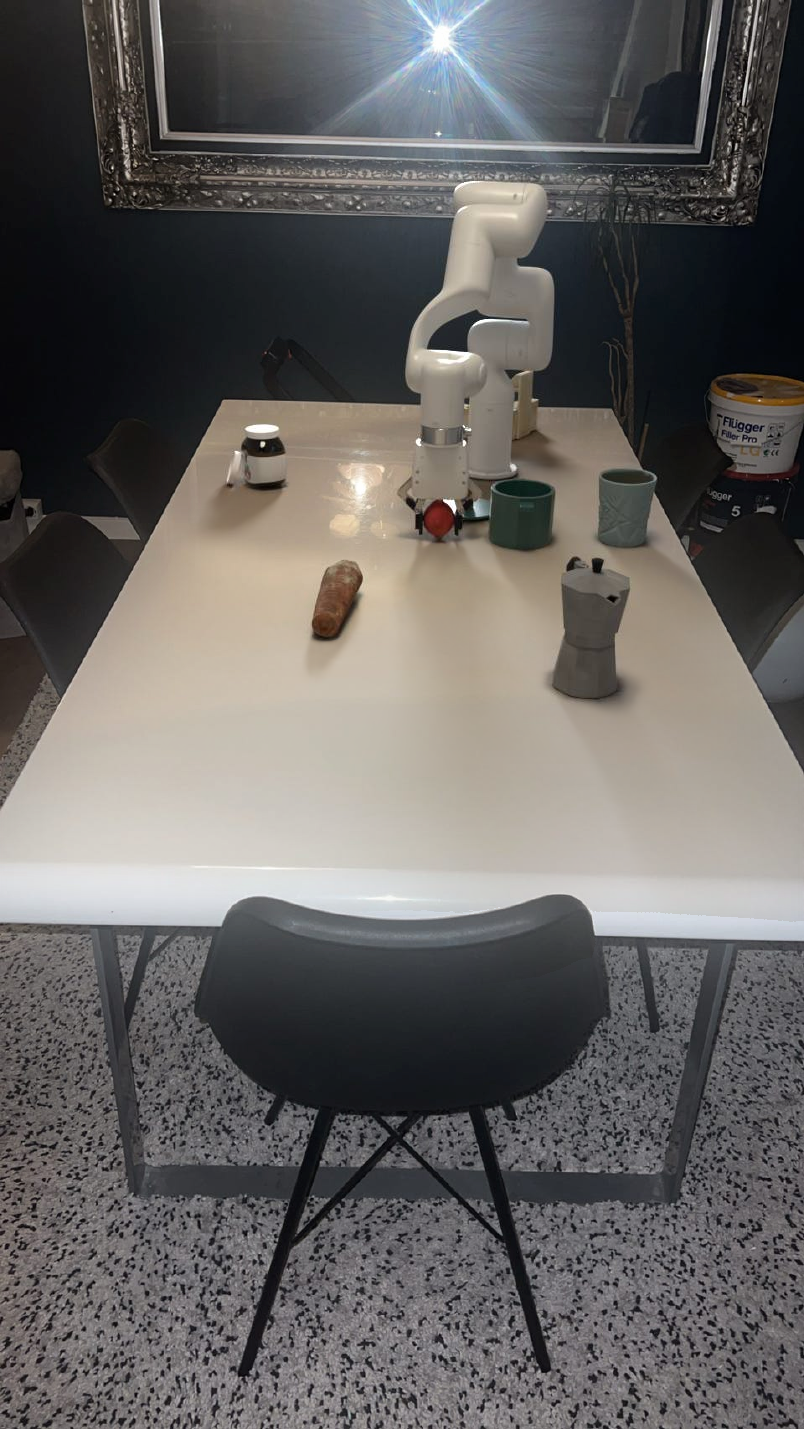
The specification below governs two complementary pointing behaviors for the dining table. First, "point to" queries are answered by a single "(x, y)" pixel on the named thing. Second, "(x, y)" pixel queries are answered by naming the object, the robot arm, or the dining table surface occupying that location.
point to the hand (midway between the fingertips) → (438, 532)
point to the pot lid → (473, 508)
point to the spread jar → (260, 458)
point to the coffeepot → (589, 628)
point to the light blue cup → (624, 505)
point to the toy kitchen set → (519, 406)
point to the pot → (521, 513)
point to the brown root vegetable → (336, 596)
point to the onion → (438, 518)
